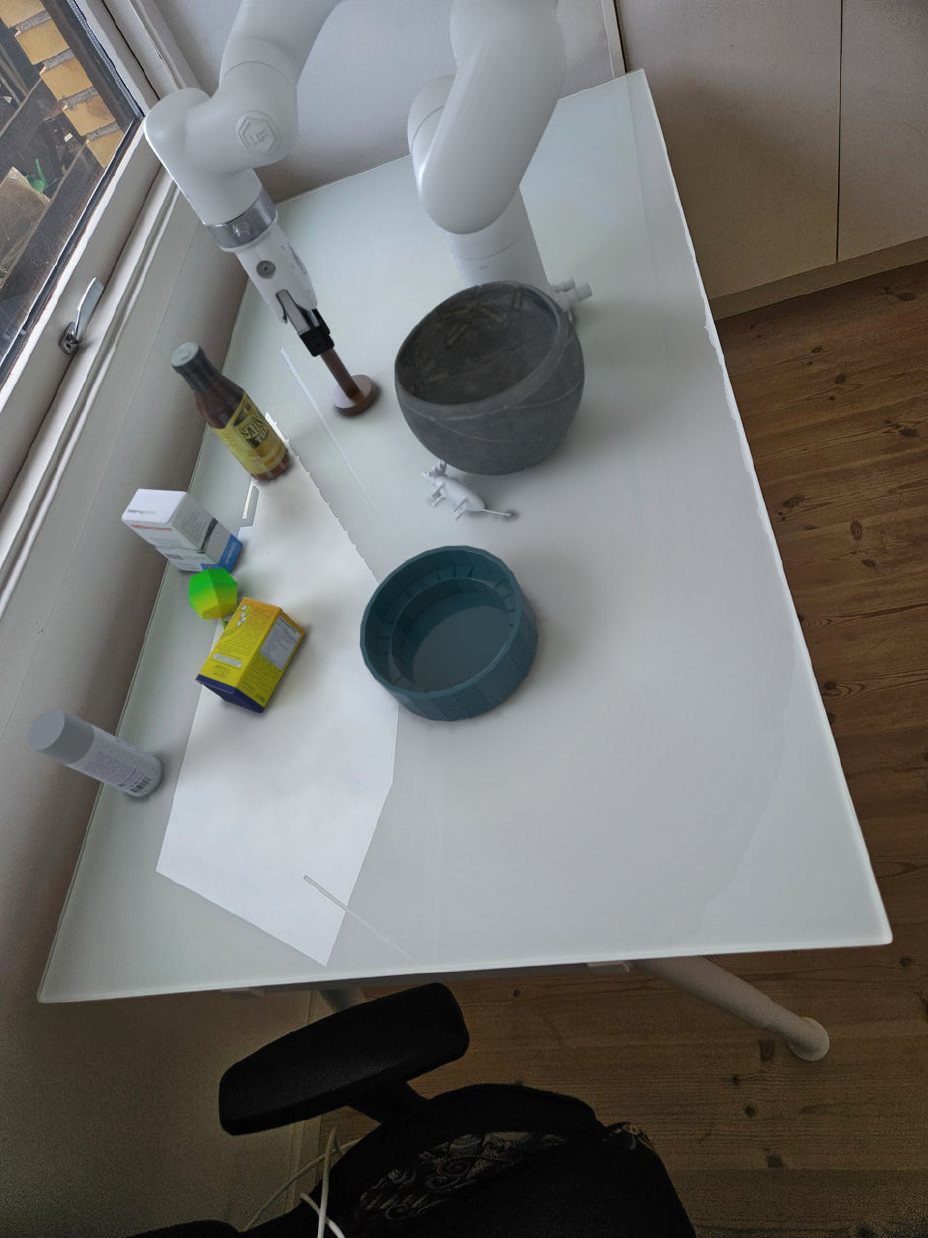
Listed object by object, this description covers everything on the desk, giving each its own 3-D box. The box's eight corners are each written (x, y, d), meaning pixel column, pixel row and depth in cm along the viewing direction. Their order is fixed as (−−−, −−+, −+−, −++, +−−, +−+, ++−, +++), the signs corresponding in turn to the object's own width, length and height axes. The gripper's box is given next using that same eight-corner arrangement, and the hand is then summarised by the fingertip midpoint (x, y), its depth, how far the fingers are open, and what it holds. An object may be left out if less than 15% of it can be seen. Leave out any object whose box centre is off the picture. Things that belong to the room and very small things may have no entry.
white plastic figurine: (407, 473, 92) (434, 446, 94) (413, 501, 97) (439, 475, 99) (490, 525, 88) (516, 496, 90) (492, 551, 93) (517, 523, 95)
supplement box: (223, 701, 93) (270, 620, 97) (261, 715, 90) (308, 631, 94) (192, 679, 88) (242, 595, 92) (231, 693, 86) (282, 606, 89)
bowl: (544, 349, 104) (515, 246, 91) (635, 442, 91) (615, 338, 79) (404, 434, 104) (356, 343, 91) (476, 539, 91) (432, 450, 79)
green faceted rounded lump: (191, 587, 102) (211, 652, 100) (169, 571, 96) (190, 639, 93) (243, 566, 102) (265, 630, 100) (225, 549, 96) (248, 616, 94)
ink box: (245, 544, 105) (189, 488, 95) (229, 576, 103) (170, 523, 93) (195, 539, 109) (136, 486, 99) (179, 571, 107) (117, 519, 97)
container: (167, 755, 92) (71, 703, 80) (159, 795, 90) (58, 748, 78) (133, 759, 94) (33, 709, 82) (124, 799, 91) (20, 754, 79)
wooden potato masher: (371, 376, 112) (317, 284, 100) (381, 402, 109) (326, 311, 96) (333, 395, 113) (274, 307, 101) (342, 423, 110) (282, 335, 97)
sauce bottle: (285, 481, 108) (194, 374, 92) (246, 485, 110) (151, 380, 94) (298, 443, 111) (213, 332, 95) (260, 447, 113) (170, 339, 97)
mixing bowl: (508, 553, 90) (490, 519, 84) (563, 680, 80) (546, 650, 75) (370, 618, 92) (344, 589, 87) (408, 750, 82) (381, 726, 77)
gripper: (282, 237, 83) (361, 368, 98) (260, 166, 92) (335, 296, 107) (219, 271, 84) (307, 396, 99) (203, 198, 93) (286, 322, 108)
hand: (321, 343), depth 103 cm, fingers closed on wooden potato masher
